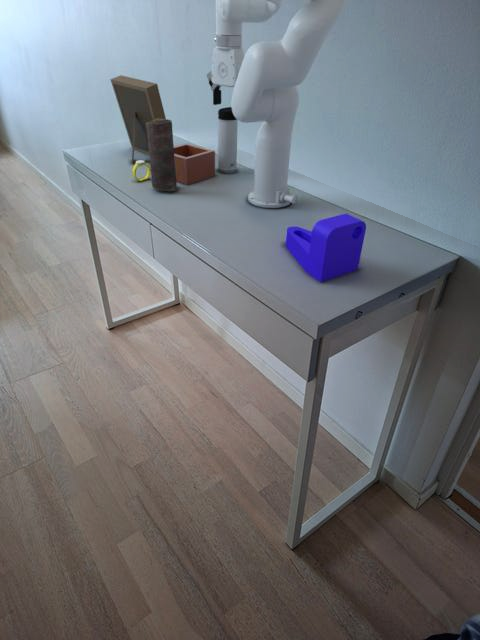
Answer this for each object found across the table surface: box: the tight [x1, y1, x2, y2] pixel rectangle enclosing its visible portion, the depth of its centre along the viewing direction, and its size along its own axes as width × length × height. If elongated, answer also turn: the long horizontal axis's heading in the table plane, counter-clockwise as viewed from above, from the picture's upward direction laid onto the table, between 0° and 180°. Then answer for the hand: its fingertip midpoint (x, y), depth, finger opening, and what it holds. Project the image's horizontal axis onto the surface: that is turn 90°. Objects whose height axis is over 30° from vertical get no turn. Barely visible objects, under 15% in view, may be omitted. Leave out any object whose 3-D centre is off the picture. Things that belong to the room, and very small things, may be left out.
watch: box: [131, 159, 151, 182], centre depth 143 cm, size 6×3×6 cm, turn 135°
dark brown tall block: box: [146, 118, 178, 192], centre depth 132 cm, size 8×7×20 cm
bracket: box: [285, 213, 367, 283], centre depth 101 cm, size 18×11×12 cm, turn 33°
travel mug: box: [217, 106, 239, 175], centre depth 149 cm, size 6×7×20 cm
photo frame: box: [110, 74, 167, 165], centre depth 158 cm, size 15×22×25 cm
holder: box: [174, 142, 216, 186], centre depth 147 cm, size 13×13×8 cm
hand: (228, 106), depth 142 cm, fingers open, 9 cm apart
